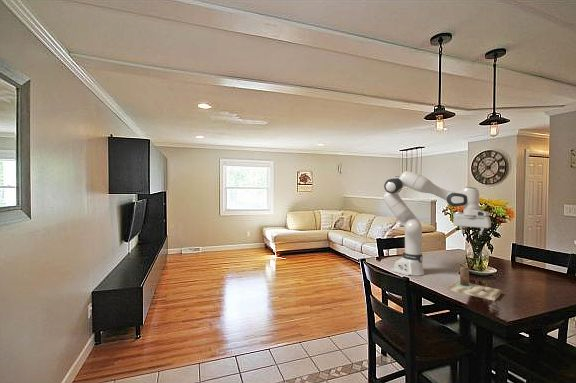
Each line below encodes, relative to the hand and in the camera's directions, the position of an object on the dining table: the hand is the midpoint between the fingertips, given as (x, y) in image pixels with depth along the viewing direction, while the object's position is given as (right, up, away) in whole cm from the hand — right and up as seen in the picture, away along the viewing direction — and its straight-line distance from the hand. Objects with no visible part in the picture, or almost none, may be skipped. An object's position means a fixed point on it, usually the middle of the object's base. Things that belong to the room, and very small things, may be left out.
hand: (471, 234), depth 178 cm
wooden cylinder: (-13, -28, -13) cm, 33 cm away
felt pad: (-13, -29, -13) cm, 34 cm away
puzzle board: (-9, -31, -16) cm, 36 cm away
